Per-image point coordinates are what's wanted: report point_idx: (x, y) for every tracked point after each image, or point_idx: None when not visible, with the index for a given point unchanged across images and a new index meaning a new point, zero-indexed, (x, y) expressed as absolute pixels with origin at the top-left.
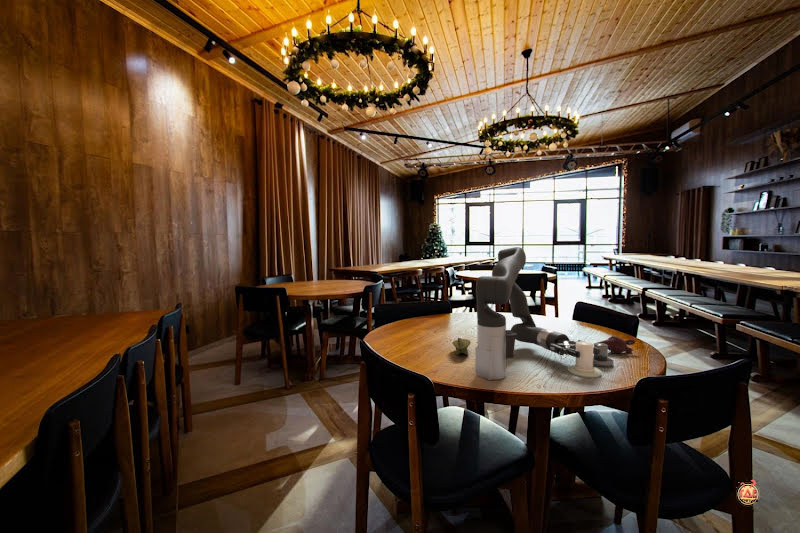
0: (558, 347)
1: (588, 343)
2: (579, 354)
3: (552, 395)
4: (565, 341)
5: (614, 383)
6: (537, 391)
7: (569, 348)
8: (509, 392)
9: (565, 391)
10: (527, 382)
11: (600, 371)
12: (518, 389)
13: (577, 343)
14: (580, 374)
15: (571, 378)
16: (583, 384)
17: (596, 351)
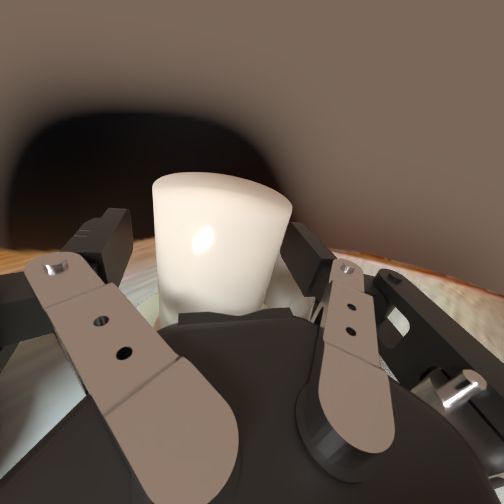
0: (425, 297)
1: (190, 185)
2: (287, 235)
3: (379, 256)
4: (352, 381)
5: None
6: (413, 274)
7: (333, 262)
8: (477, 286)
9: (348, 258)
10: (456, 318)
11: (150, 299)
12: (463, 292)
13: (282, 208)
14: (263, 303)
15: (305, 305)
16: (287, 268)
17: (129, 232)
